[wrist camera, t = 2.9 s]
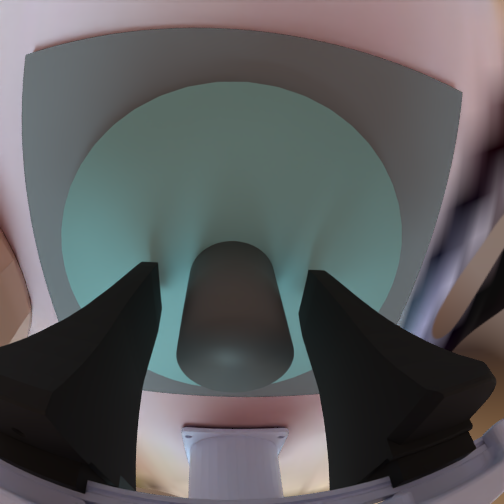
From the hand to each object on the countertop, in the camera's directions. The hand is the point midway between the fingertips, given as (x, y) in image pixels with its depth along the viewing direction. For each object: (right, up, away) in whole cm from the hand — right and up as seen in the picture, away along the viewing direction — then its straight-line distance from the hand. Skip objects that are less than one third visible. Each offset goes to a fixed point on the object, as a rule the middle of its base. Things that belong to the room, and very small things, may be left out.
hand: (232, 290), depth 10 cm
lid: (0, +1, +1) cm, 2 cm away
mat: (0, +1, +2) cm, 2 cm away
